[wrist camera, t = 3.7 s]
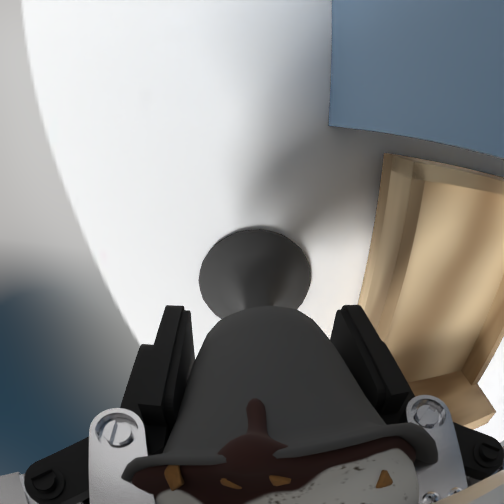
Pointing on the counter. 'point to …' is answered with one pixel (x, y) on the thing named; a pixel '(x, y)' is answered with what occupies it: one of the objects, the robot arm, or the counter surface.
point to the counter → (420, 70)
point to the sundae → (275, 400)
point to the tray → (438, 279)
